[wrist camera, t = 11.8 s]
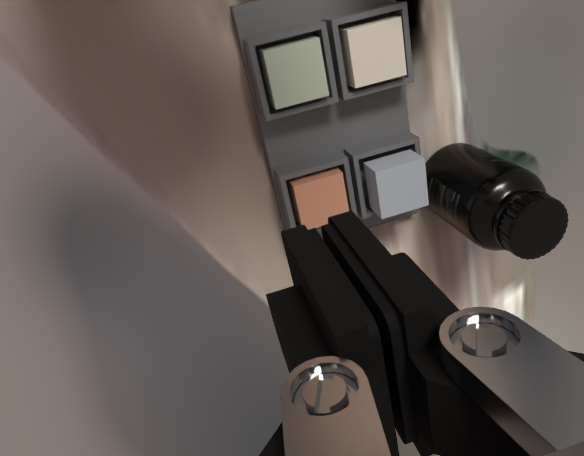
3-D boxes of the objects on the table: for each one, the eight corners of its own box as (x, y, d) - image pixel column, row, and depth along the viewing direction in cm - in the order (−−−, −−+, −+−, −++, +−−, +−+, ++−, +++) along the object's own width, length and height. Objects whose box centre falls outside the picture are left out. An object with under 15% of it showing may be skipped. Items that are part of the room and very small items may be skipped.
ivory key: (335, 28, 36) (346, 30, 34) (386, 15, 36) (401, 16, 34) (344, 83, 38) (355, 88, 36) (392, 70, 38) (406, 74, 36)
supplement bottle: (460, 220, 47) (545, 284, 37) (403, 198, 45) (476, 259, 34) (497, 155, 45) (599, 203, 35) (440, 129, 43) (530, 171, 32)
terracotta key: (286, 176, 40) (293, 186, 38) (332, 162, 40) (342, 172, 38) (296, 219, 42) (303, 231, 39) (340, 206, 42) (350, 217, 40)
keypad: (230, 6, 35) (235, 6, 32) (386, -31, 36) (406, -34, 33) (288, 245, 44) (297, 263, 41) (411, 207, 46) (429, 222, 43)
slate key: (363, 162, 39) (375, 172, 37) (410, 149, 39) (424, 158, 37) (370, 207, 41) (381, 219, 39) (414, 194, 41) (428, 205, 39)
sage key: (256, 48, 35) (262, 51, 33) (309, 35, 36) (319, 37, 34) (269, 103, 37) (276, 109, 35) (319, 89, 38) (329, 95, 35)
